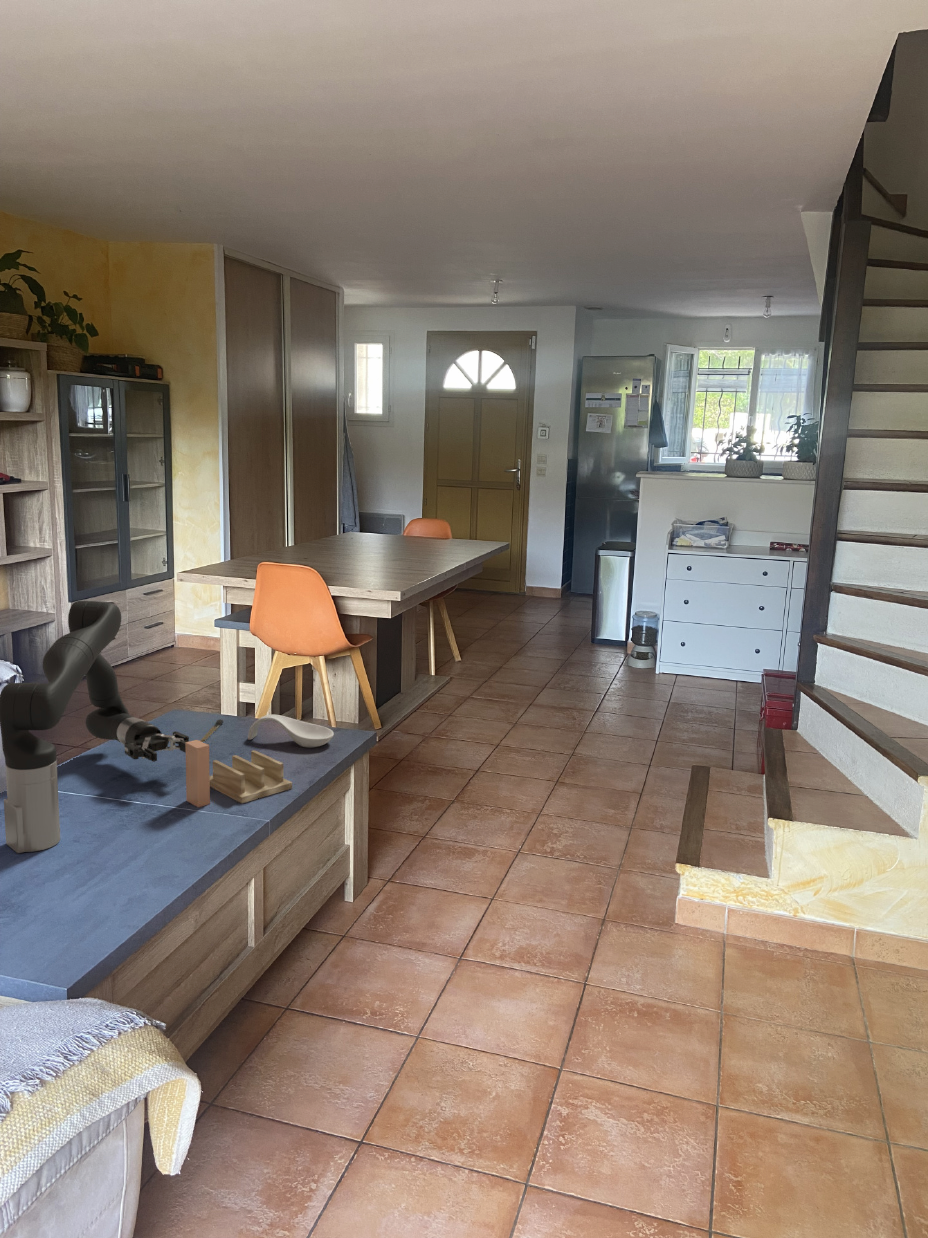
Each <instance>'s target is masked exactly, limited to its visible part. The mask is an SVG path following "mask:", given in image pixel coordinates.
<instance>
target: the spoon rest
mask: <svg viewBox="0 0 928 1238" xmlns="http://www.w3.org/2000/svg"><path fill="white" fill-rule="evenodd" d="M269 721H272V722H274V723H276V724H279V725H280V726H281V727H282V728H283V729H284V730H285V732H286V733H287V734H288V736H289V737H290V738H291V739H292V740H293V742H294V743H296V744H297V745H299V746H300V747H303V748H310V749H311V748H318V747H322V746H323V745H325V744H327V743H328V742H330V741H331V740H332V738H333V737H334V735H335V734H334V733H335V732H334V731H333V729H330V727H329V728H328V727H326V726H323V725H319V724H315V723H311V722H307V721H303V720H299V719H296V718H293V717H292V718H291V717H290V716H289V717H288V716H284V715H282V714H281V715H279V714H266V715H263V716H261V717H260V718H258V719H257V720H255V721H254V722H253V723H252V724H251V726H250V727H249V729H248V733H247V740H249V741H250V740H252V739H255V738H256V737H257V734H258V729H259V726H260V725H261V724H262V723H264V722H269Z"/></svg>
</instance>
